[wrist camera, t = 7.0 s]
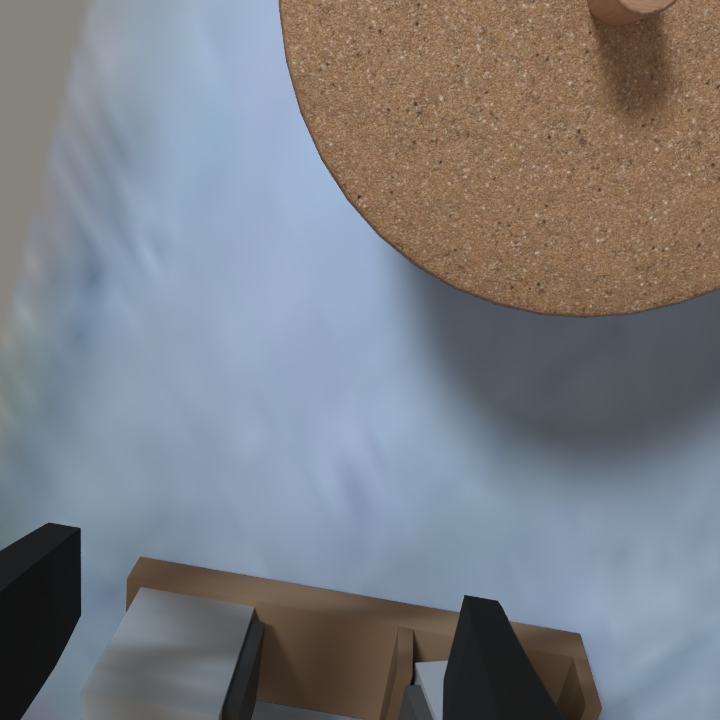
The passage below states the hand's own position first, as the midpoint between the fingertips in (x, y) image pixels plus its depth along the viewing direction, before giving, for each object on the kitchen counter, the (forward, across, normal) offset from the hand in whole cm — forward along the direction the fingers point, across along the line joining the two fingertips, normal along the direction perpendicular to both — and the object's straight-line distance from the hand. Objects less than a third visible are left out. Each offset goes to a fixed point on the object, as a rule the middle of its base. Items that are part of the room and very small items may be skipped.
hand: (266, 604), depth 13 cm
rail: (+10, -2, +10) cm, 14 cm away
